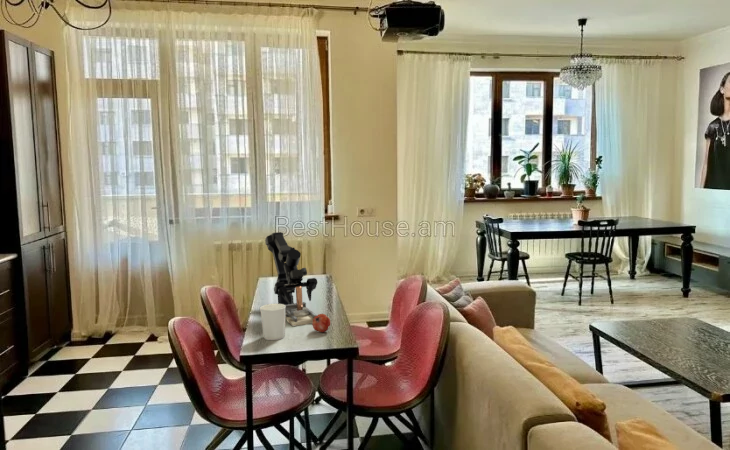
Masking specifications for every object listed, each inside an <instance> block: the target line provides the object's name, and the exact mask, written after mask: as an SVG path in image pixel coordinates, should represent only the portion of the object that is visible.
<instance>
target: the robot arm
mask: <svg viewBox="0 0 730 450" xmlns="http://www.w3.org/2000/svg"><path fill="white" fill-rule="evenodd" d="M264 241H265V245H266V247H267V249H268V250H269V252H270V253H272V257H273V260H274V265H275V268H276V273H277V277H276V282H275V283H274V288H273V292H274V294H275V295H277V304H284V305H287V304H295V302H294V295H293V294H294V293H296V286H302V288H306V293H307V294H306V295H307V297H308V301H309V302H311V301H312V292H313V291H314V290H316V288H317V284H318V279H317V278H316V277H310V278H307V279H306V281H304V282H302V281H303V279H304V277H305V276H307V274H308V270H307V268H306V267H302V268H301V269H298V265H299V264H300V263H299V262H300V260H301V255H302V254H301V252H300V250H297V249H296V248H295V247H293V246H290V245H288V243H287V241H286V239H285V237H284V233H283V232H281V231H278V232H272V233H271V234H269V235H267V236H266V238H265V240H264Z"/></svg>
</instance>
